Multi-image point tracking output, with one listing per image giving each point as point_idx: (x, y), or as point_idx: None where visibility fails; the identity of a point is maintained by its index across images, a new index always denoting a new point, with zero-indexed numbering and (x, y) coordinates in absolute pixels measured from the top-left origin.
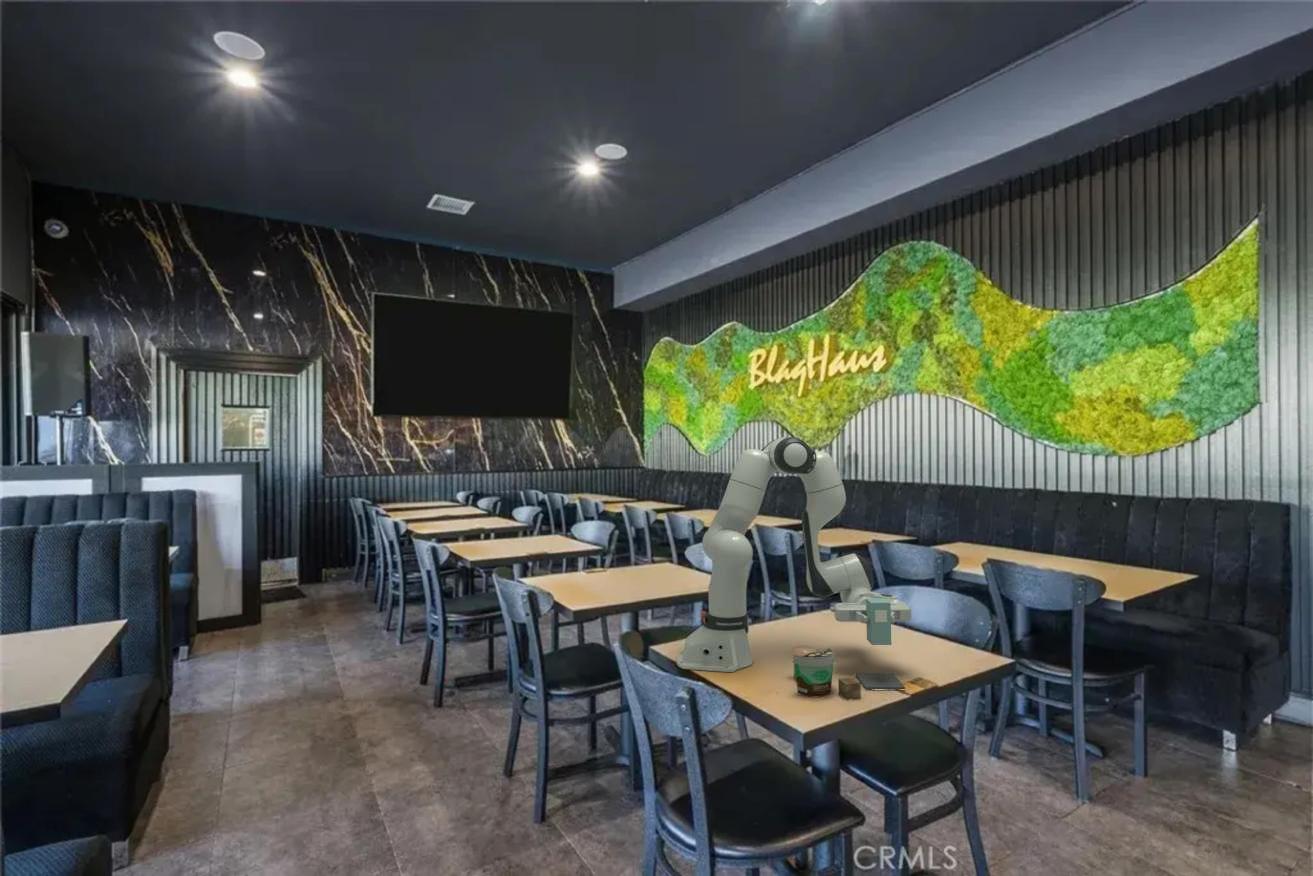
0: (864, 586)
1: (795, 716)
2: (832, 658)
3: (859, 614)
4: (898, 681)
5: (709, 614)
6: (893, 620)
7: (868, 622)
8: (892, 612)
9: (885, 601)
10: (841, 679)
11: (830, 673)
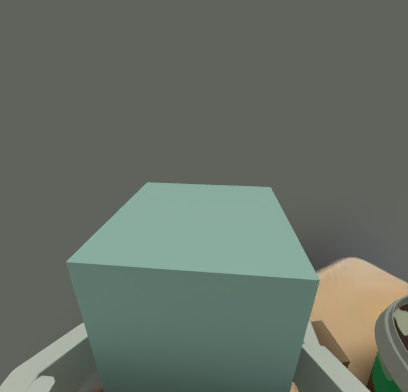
0: None
1: (388, 287)
2: (383, 318)
3: (351, 376)
4: None
5: None
6: None
7: None
8: (25, 377)
9: (157, 196)
10: (339, 353)
11: (377, 352)
